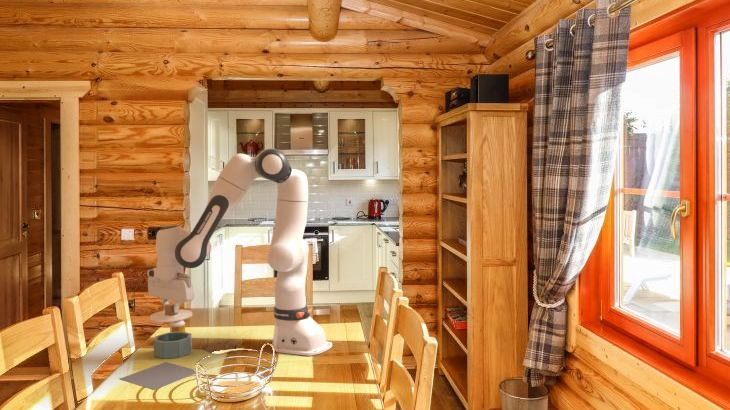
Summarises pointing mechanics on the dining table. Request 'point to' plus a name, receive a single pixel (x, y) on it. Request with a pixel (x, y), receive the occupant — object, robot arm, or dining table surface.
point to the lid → (170, 315)
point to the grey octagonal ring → (172, 345)
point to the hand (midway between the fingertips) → (171, 311)
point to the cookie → (222, 346)
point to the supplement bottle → (177, 326)
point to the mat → (159, 375)
